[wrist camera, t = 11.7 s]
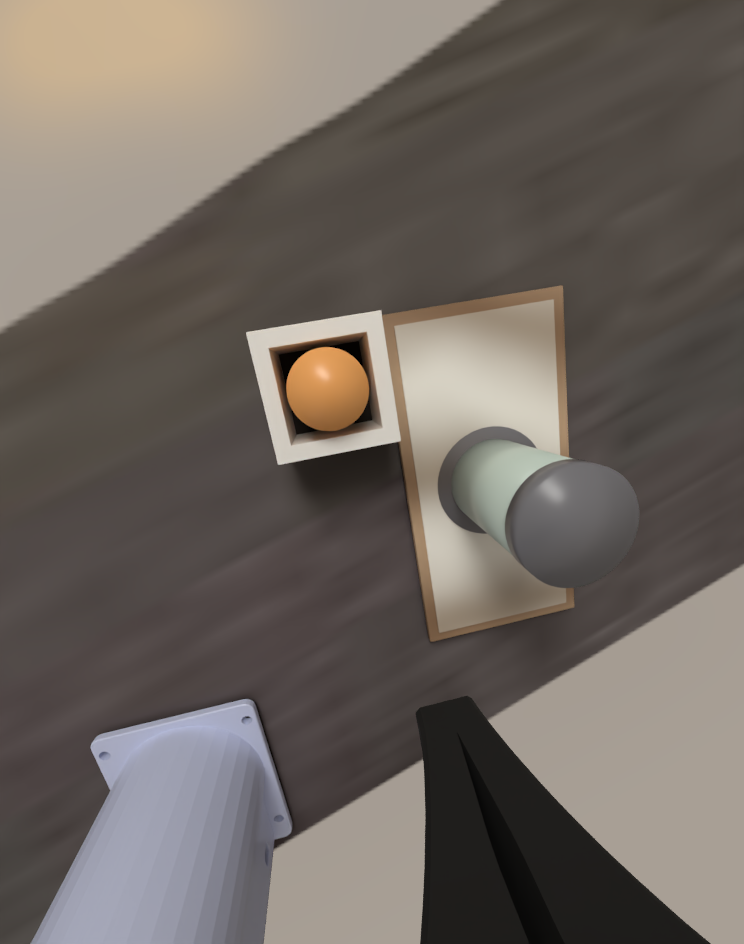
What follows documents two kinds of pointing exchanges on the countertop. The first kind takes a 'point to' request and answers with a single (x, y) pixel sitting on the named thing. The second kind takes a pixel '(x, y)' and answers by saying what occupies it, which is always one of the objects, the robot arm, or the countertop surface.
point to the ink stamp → (548, 510)
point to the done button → (327, 389)
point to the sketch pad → (475, 442)
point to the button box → (318, 335)
